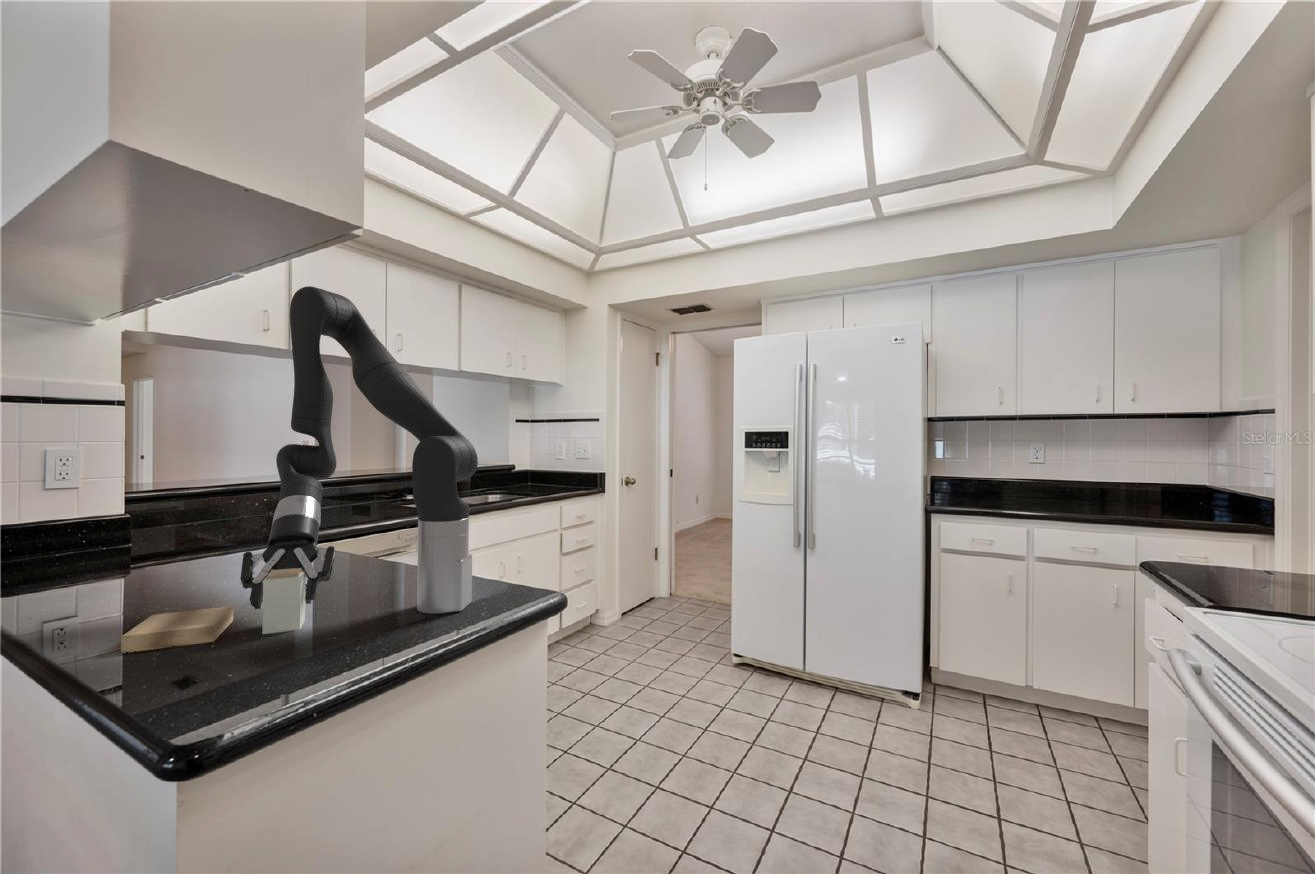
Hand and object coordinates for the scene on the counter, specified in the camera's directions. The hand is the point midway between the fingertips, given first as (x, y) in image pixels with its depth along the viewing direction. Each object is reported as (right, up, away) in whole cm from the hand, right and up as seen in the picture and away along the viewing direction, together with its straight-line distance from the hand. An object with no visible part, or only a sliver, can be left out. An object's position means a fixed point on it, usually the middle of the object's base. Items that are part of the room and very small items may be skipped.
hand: (282, 603), depth 90 cm
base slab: (-15, -5, -3) cm, 16 cm away
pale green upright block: (-1, -4, +1) cm, 5 cm away
